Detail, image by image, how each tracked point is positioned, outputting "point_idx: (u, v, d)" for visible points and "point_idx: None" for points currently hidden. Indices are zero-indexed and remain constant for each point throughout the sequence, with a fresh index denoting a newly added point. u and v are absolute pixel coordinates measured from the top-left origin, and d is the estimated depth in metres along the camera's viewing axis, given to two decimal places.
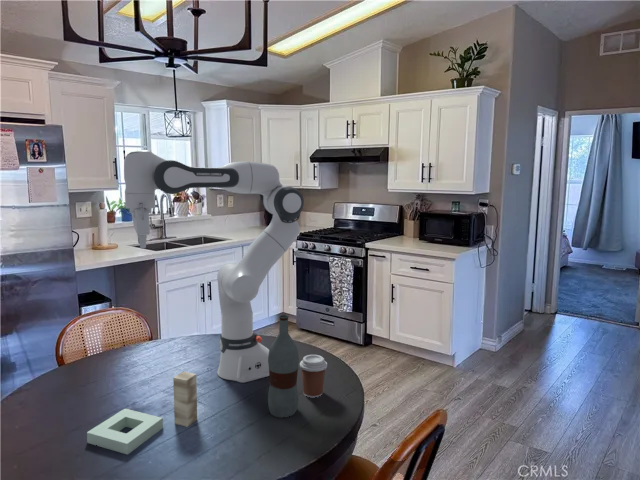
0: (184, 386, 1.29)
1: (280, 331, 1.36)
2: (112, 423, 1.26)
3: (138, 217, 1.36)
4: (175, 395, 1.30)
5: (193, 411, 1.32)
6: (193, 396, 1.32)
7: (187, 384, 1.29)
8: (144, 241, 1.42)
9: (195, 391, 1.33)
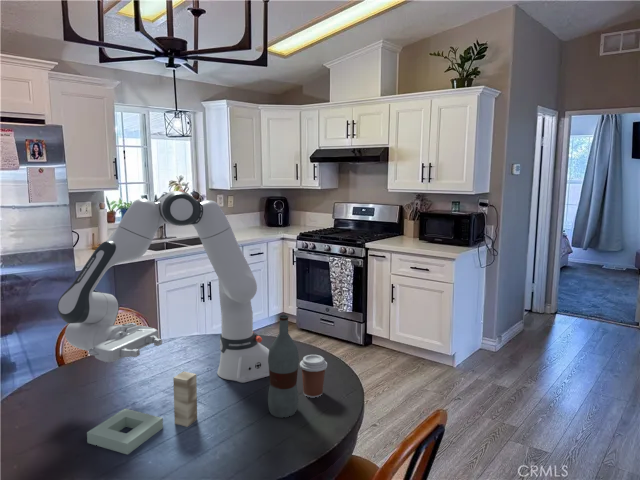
0: (184, 386, 1.29)
1: (280, 331, 1.36)
2: (112, 423, 1.26)
3: (97, 357, 1.29)
4: (175, 395, 1.30)
5: (193, 411, 1.32)
6: (193, 396, 1.32)
7: (187, 384, 1.29)
8: (129, 352, 1.30)
9: (195, 391, 1.33)
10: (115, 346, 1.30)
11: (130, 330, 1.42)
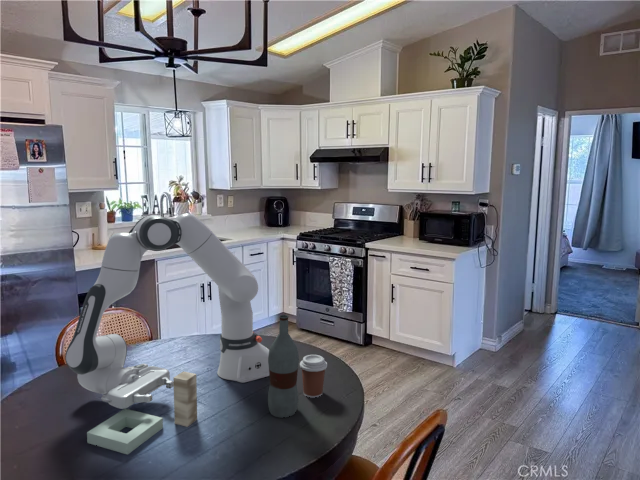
0: (184, 386, 1.29)
1: (280, 331, 1.36)
2: (112, 423, 1.26)
3: (110, 403, 1.30)
4: (175, 395, 1.30)
5: (193, 411, 1.32)
6: (193, 396, 1.32)
7: (187, 384, 1.29)
8: (142, 397, 1.31)
9: (195, 391, 1.33)
10: (128, 392, 1.31)
11: (142, 372, 1.42)
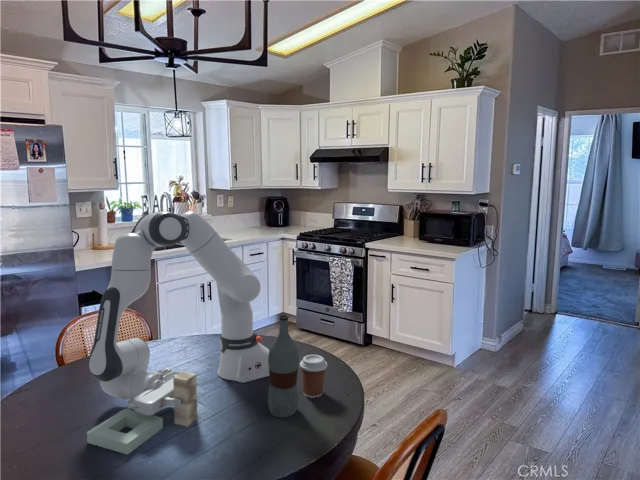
0: (184, 386, 1.29)
1: (280, 331, 1.36)
2: (112, 423, 1.26)
3: (136, 410, 1.27)
4: (175, 394, 1.30)
5: (193, 411, 1.32)
6: (193, 396, 1.32)
7: (187, 384, 1.29)
8: (172, 401, 1.29)
9: (195, 391, 1.33)
10: (154, 398, 1.27)
11: (166, 377, 1.39)
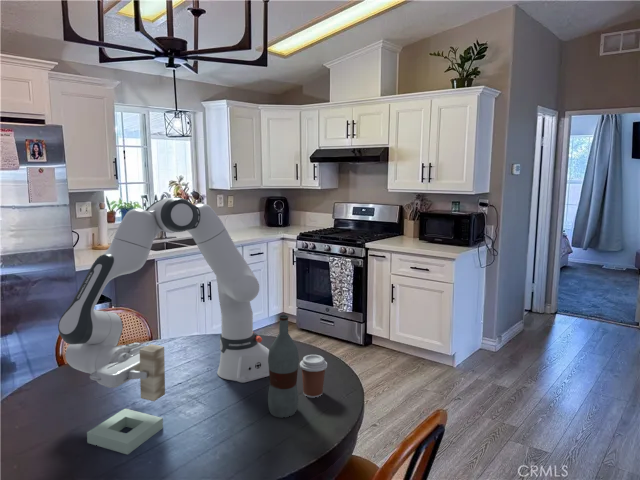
0: (151, 358, 1.23)
1: (280, 331, 1.36)
2: (112, 423, 1.26)
3: (99, 382, 1.21)
4: (141, 367, 1.25)
5: (160, 385, 1.27)
6: (160, 369, 1.26)
7: (154, 356, 1.23)
8: (138, 373, 1.23)
9: (163, 364, 1.27)
10: (118, 370, 1.22)
11: (134, 351, 1.34)
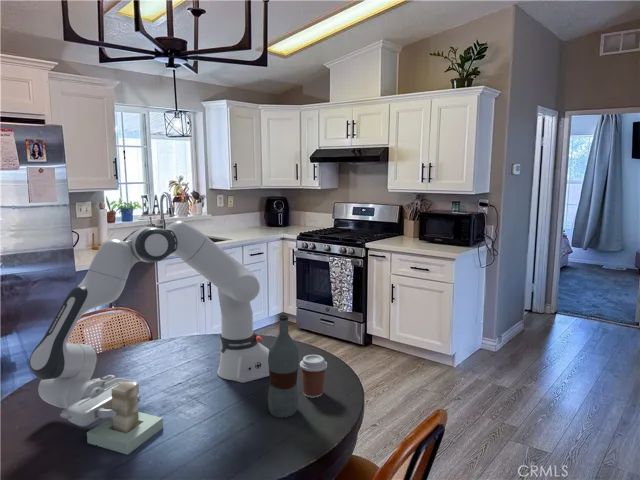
0: (123, 398, 1.21)
1: (280, 331, 1.36)
2: (112, 423, 1.26)
3: (69, 420, 1.19)
4: (113, 407, 1.23)
5: (133, 424, 1.25)
6: (133, 408, 1.25)
7: (125, 396, 1.21)
8: (106, 412, 1.20)
9: (136, 403, 1.25)
10: (89, 407, 1.20)
11: (108, 384, 1.31)
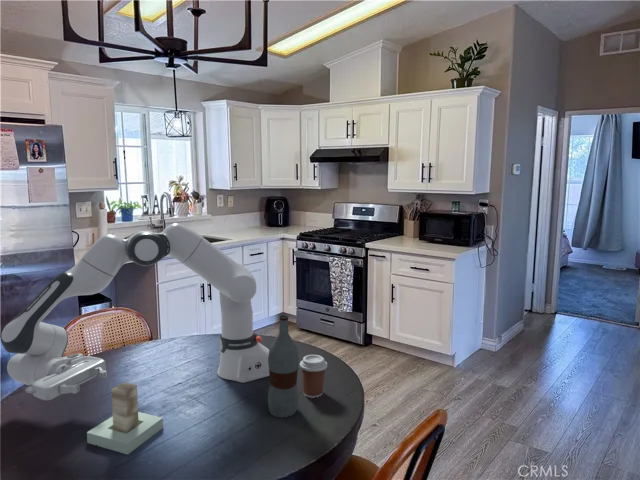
0: (123, 398, 1.21)
1: (280, 331, 1.36)
2: (112, 423, 1.26)
3: (34, 395, 1.23)
4: (113, 407, 1.23)
5: (133, 424, 1.25)
6: (133, 408, 1.25)
7: (125, 396, 1.21)
8: (68, 388, 1.24)
9: (136, 403, 1.25)
10: (53, 382, 1.24)
11: (74, 362, 1.35)
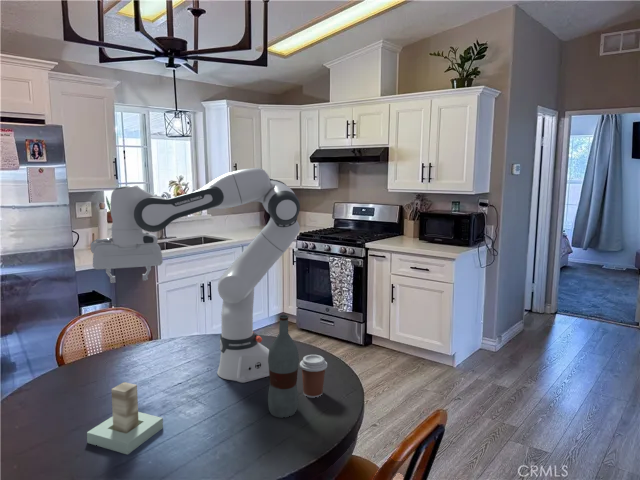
0: (123, 398, 1.21)
1: (280, 331, 1.36)
2: (112, 423, 1.26)
3: None
4: (113, 407, 1.23)
5: (133, 424, 1.25)
6: (133, 408, 1.25)
7: (125, 396, 1.21)
8: (109, 276, 1.42)
9: (136, 403, 1.25)
10: (104, 264, 1.40)
11: (142, 247, 1.43)
